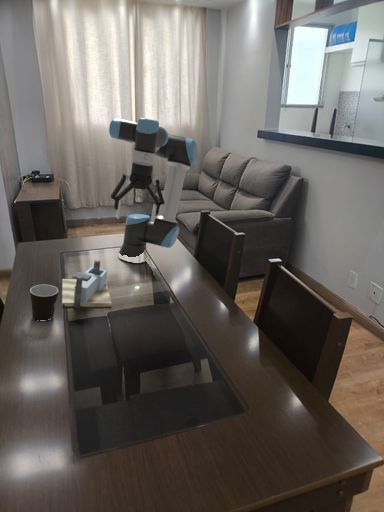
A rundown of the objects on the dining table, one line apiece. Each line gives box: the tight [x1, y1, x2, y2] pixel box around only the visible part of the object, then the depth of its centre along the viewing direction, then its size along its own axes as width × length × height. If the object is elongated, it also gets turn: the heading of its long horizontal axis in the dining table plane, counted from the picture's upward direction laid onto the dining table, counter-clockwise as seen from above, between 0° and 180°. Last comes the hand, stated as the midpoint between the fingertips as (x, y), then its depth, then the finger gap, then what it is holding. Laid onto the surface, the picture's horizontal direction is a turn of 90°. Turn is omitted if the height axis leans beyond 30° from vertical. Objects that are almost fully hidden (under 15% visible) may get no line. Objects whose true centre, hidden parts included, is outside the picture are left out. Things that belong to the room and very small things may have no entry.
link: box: [74, 266, 108, 303], centre depth 140 cm, size 19×7×6 cm, turn 174°
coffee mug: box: [29, 283, 59, 322], centre depth 121 cm, size 12×9×10 cm
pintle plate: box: [61, 259, 113, 310], centre depth 139 cm, size 22×18×12 cm
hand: (135, 219), depth 137 cm, fingers open, 13 cm apart
